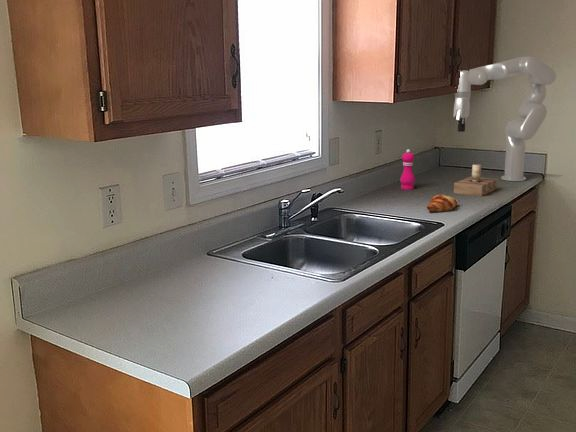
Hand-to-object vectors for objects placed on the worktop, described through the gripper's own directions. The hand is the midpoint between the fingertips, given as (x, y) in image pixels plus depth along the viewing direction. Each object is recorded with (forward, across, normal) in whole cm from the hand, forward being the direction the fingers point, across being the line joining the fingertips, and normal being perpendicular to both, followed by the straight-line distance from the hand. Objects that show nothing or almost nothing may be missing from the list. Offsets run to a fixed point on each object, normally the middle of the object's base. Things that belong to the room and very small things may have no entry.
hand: (461, 131), depth 333 cm
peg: (+26, +15, +15) cm, 34 cm away
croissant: (+28, +59, +18) cm, 67 cm away
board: (+27, +15, +15) cm, 34 cm away
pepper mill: (+27, +27, -16) cm, 42 cm away
